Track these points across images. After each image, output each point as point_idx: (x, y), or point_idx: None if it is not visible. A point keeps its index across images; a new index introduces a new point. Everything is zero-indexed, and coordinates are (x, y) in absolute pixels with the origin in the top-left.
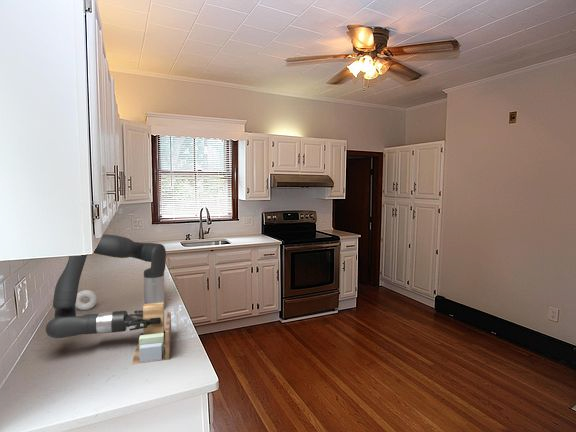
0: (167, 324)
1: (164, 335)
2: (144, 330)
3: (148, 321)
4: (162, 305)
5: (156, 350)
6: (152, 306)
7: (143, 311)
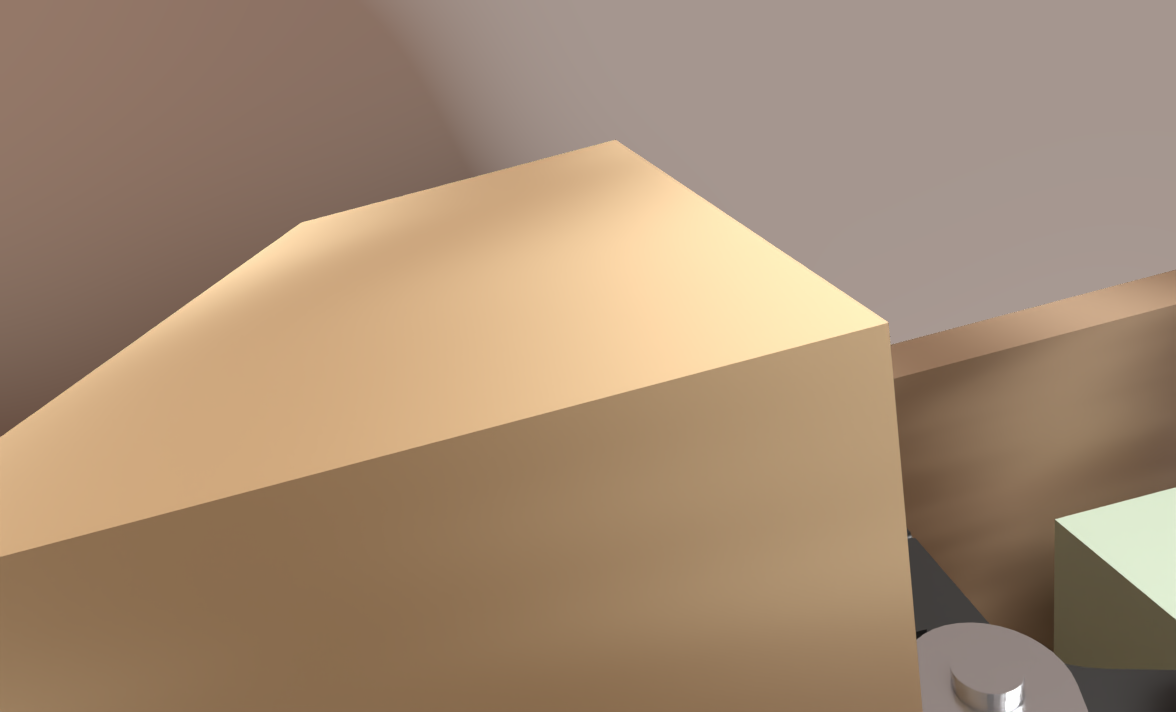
0: (999, 336)
1: None
2: None
3: (1094, 673)
4: (566, 156)
5: None
6: (632, 195)
7: (891, 638)
